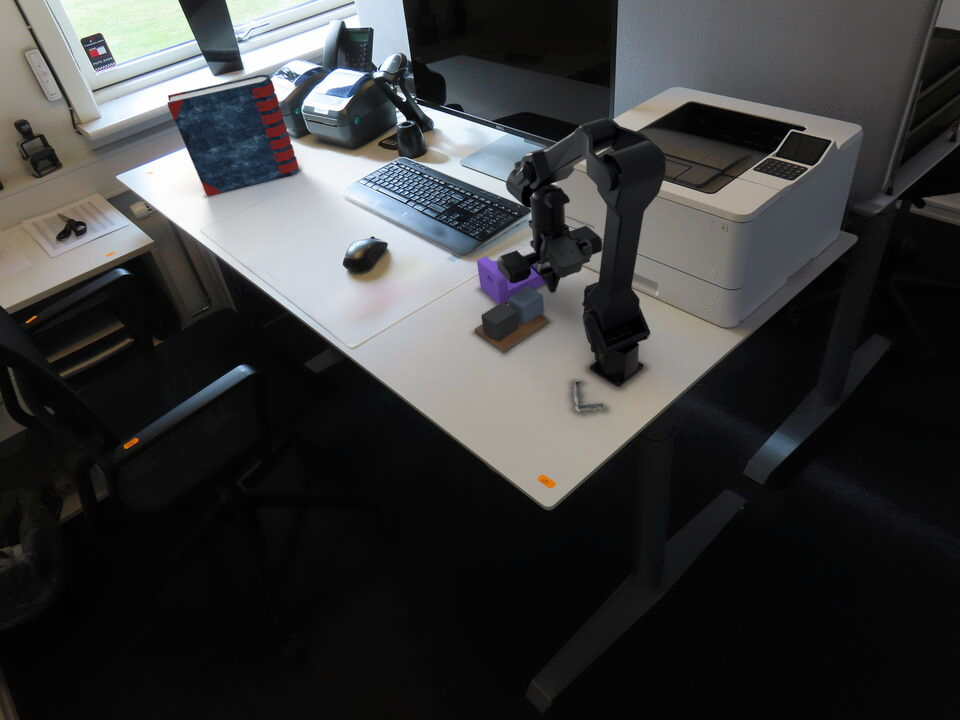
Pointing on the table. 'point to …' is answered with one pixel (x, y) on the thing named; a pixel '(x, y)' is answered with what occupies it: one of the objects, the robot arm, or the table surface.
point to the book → (234, 133)
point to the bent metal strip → (584, 406)
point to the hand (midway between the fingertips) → (551, 291)
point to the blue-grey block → (527, 304)
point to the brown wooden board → (514, 333)
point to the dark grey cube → (500, 321)
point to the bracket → (502, 281)
